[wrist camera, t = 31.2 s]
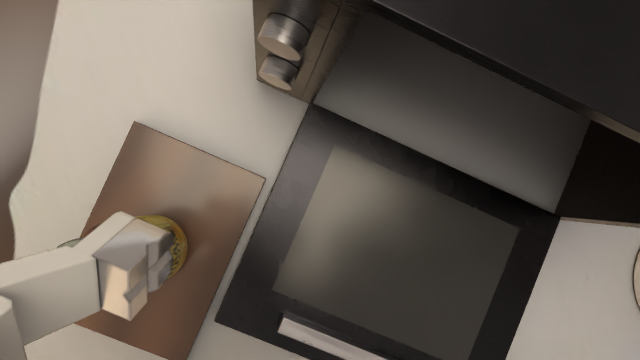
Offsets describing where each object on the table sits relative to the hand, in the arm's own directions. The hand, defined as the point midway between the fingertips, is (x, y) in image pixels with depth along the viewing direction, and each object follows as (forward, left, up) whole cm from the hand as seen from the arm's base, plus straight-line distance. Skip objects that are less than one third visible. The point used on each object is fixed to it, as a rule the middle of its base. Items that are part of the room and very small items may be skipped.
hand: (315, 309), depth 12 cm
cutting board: (+10, +7, -37) cm, 39 cm away
